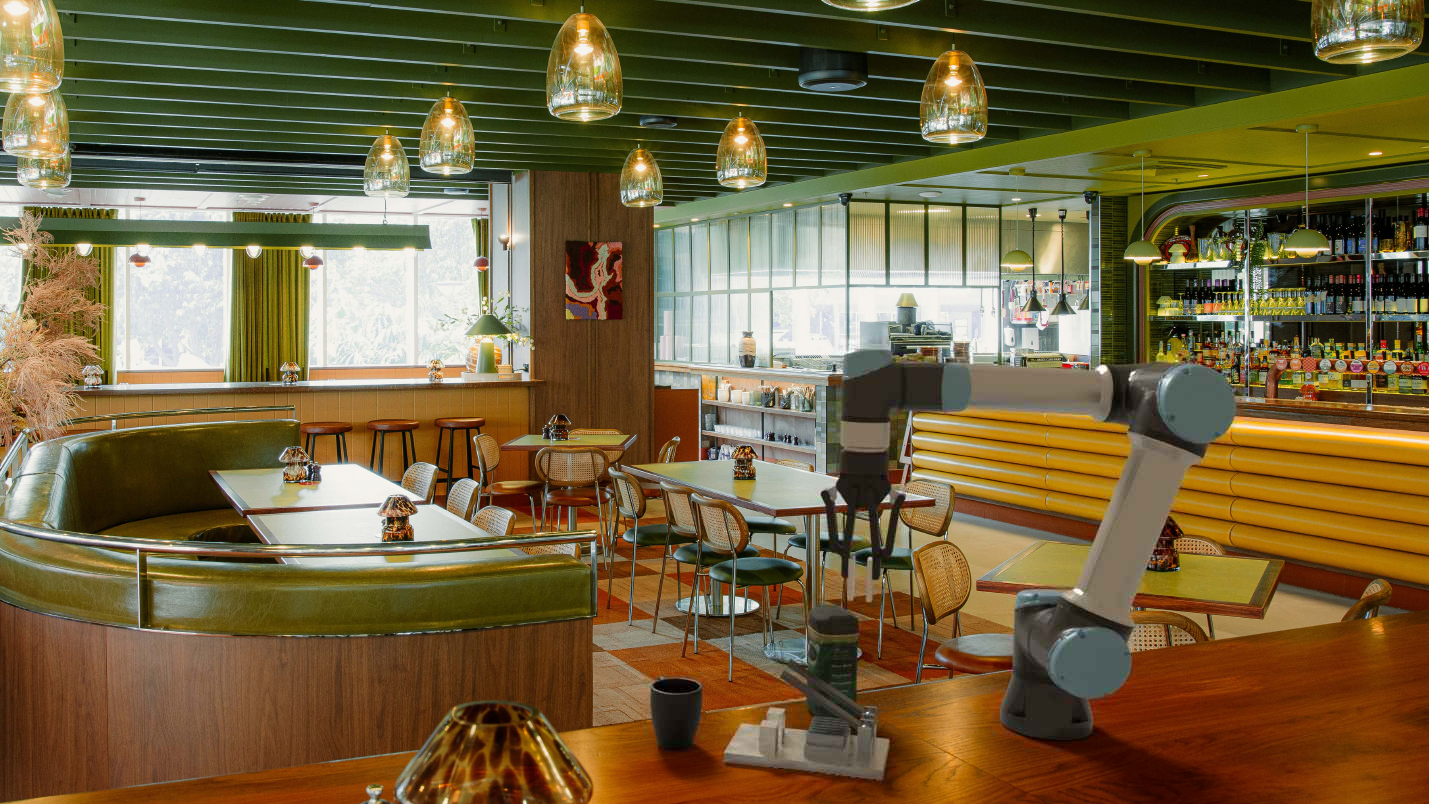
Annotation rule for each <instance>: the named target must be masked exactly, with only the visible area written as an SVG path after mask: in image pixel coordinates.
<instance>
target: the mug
mask: <svg viewBox="0 0 1429 804" xmlns="http://www.w3.org/2000/svg"><path fill="white" fill-rule="evenodd" d="M649 695H650V699H649V700H650V703H649V704H650V705H649V706H650V716H651V721H652V726H653V730H654V734H655V737H656V742H657V746H658V747H659V748H660V749H662V750H666V751H672V752H679V751H685V750H689V749H690V748H692V747H693V745H694V741H695V738H696V735H697V732H698V729H699V725H700V720H701V715H702V708H703V685H702V683H701V682H700V681H697V680H696V679H690V678H685V677H667V676H665V675H659V676H658V677H657V680H655V681H653V682H652V683H651V684H650V694H649Z"/></svg>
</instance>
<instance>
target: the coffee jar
mask: <svg viewBox="0 0 1429 804" xmlns="http://www.w3.org/2000/svg"><path fill="white" fill-rule="evenodd" d="M859 621H860V620H859V617H858V616H856V615H855V614H854V613H852V612H851V611H849V610H847V609H846V608H843V607H841V606H839V605H838V604H833V603H832V604H816V605H815V606H814V607H813V608H812V609H811V610H809V615H808V623H807V624H808V625H807V626H808V630H807V631H808V654H807V655H808V659H807V660H808V661H807V670H808V671H810V672H811V673H813V674H814V675H816V676H817V677H819V678H820V679H822V680H823V681H825V682H826V683H827V684H829V685H830V686H832V687H833V688H835V689H836V690H838V691H839V692H841V693H842V694H844V695H845V696H847V697H848V698H850V699H851V700H853V701H854V702H856V703H857V702H858V701H857V700H858V699H857V698H858V695H857V694H858V693H857V692H858V688H857V687H858V685H857V684H858V680H857V679H858V647H859V646H858V645H859V637H860V623H859ZM806 685H808V686H809V687H810V688H812V689H813V690H815V691H816V692H818V693H819V694H821V695H822V696H824V697H825V698H827V699H828V700H830V701H831V702H833V703H834V704H836V705H837V706H838V707H840V708H841V709H843V710H844V711H846V712H847V713H849V714H850V715H852V716H853V717H855V718H856V715H857V713H855V712H854V711H852V710H851V709H849V708H848V707H846V706H845V705H843V704H842V703H840V702H839V701H837V700H836V699H835V698H833V697H832V696H830V695H829V694H827V693H826V692H824V691H823V690H821V689H820V688H818V687H817V686H815V685H814V684H812V683H811V682H809V681H808V680H807V679H806ZM805 696H806V695H805ZM857 704H858V703H857ZM805 705H806V708H807V709H808V711H809V712H810V713H811V714H812V715H813V717H814V716H817V717H827V718H837V719H840V718H839V717H837V716H836V715H834V714H833V713H831V712H830V711H828V710H827V709H826V708H824V707H823V706H821V705H820V704H818V703H817V702H815V701H814V700H812V699H811V698H809V697H808V696H806V697H805Z"/></svg>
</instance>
